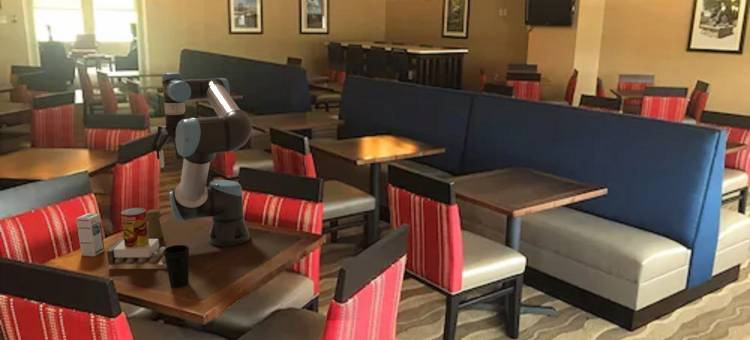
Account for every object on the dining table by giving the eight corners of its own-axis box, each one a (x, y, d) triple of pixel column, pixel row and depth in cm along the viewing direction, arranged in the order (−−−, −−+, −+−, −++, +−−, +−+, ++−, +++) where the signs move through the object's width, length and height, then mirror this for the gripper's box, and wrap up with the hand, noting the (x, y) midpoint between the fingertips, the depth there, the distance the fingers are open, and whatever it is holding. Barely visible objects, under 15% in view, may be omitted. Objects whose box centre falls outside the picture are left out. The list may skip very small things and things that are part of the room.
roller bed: (183, 255, 222) (182, 238, 220) (173, 268, 210) (171, 250, 209) (122, 256, 222) (120, 239, 220) (108, 269, 210) (106, 251, 208)
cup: (170, 279, 201) (167, 245, 198) (194, 278, 202) (191, 244, 199) (164, 289, 193) (161, 254, 191) (189, 288, 194) (186, 253, 191)
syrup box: (95, 256, 221) (90, 218, 218) (80, 255, 222) (75, 217, 219) (105, 251, 227) (100, 213, 223) (90, 250, 228) (86, 212, 224)
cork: (166, 236, 242) (164, 209, 239) (153, 240, 237) (151, 213, 234) (156, 233, 245) (154, 207, 242) (143, 237, 240) (141, 211, 238)
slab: (159, 246, 220) (158, 238, 219) (149, 257, 210) (148, 248, 209) (125, 247, 220) (124, 239, 219) (114, 257, 210) (113, 249, 209)
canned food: (120, 245, 213) (116, 212, 210) (139, 238, 219) (136, 206, 217) (133, 249, 209) (130, 215, 206) (153, 242, 215) (150, 210, 212)
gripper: (139, 114, 232) (144, 169, 237) (205, 114, 232) (209, 168, 237) (146, 112, 239) (151, 165, 244) (210, 111, 239) (214, 164, 244)
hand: (179, 167), depth 241 cm, fingers open, 13 cm apart
